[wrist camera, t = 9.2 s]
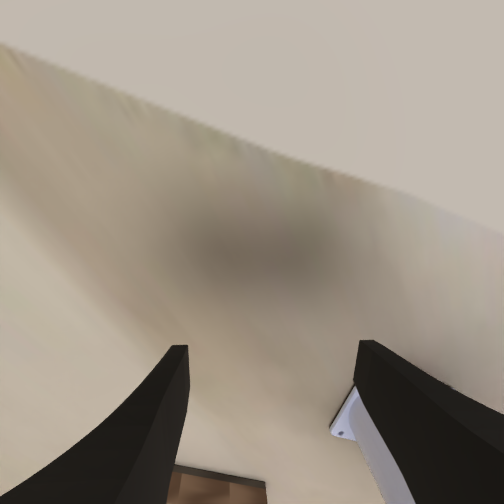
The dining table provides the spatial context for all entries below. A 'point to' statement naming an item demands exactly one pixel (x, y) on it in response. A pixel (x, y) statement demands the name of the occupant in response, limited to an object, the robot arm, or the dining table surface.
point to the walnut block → (213, 488)
